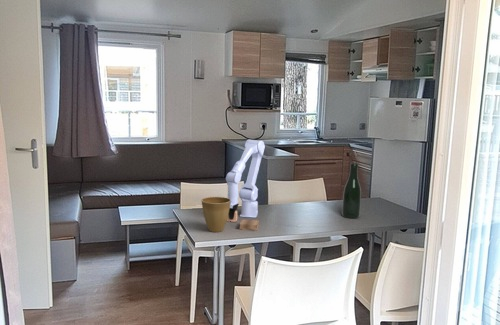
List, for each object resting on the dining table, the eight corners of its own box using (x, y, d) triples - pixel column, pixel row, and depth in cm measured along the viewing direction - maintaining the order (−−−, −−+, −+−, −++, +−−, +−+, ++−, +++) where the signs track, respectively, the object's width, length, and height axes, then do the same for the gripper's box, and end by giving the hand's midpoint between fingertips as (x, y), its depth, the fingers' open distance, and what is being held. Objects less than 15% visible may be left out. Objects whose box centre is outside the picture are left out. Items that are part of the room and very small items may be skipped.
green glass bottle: (338, 216, 270) (341, 161, 265) (347, 213, 278) (351, 159, 272) (353, 220, 263) (357, 163, 258) (363, 216, 271) (367, 161, 265)
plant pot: (228, 225, 243) (229, 196, 241) (231, 234, 228) (232, 203, 226) (200, 225, 241) (201, 196, 238) (201, 234, 226) (201, 203, 224)
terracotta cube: (237, 219, 255) (237, 210, 254) (235, 221, 250) (236, 213, 249) (228, 218, 256) (228, 210, 255) (226, 221, 251) (227, 212, 250)
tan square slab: (258, 225, 245) (258, 220, 244) (256, 230, 236) (257, 225, 235) (242, 224, 246) (242, 219, 245) (239, 229, 237) (239, 223, 237)
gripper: (227, 190, 258) (227, 213, 260) (223, 196, 244) (222, 220, 246) (240, 191, 257) (239, 214, 260) (236, 197, 243) (235, 221, 245)
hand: (232, 217), depth 253 cm, fingers closed on terracotta cube, 5 cm apart
